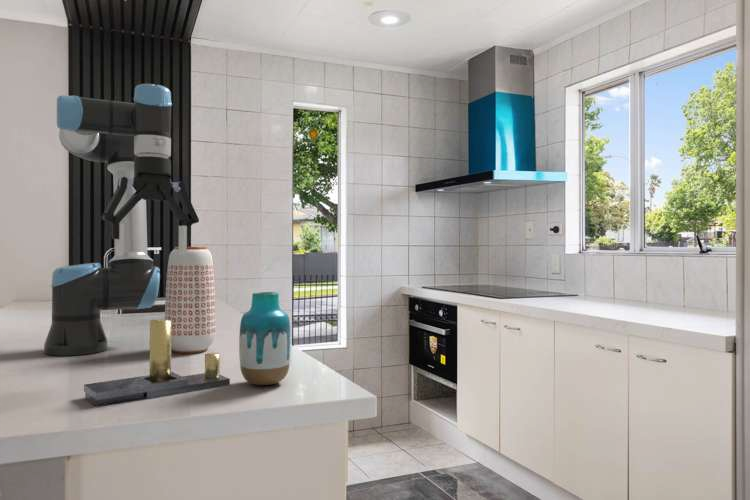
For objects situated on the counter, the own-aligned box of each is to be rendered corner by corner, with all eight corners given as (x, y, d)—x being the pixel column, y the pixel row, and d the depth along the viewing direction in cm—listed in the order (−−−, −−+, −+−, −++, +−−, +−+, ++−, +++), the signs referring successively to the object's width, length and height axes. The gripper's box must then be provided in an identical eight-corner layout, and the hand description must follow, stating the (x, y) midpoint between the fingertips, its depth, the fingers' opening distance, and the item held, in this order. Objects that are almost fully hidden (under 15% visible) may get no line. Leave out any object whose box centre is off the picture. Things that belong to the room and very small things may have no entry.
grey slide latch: (83, 397, 110) (83, 366, 110) (212, 377, 127) (212, 350, 127) (96, 407, 104) (96, 373, 104) (229, 384, 121) (229, 355, 121)
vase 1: (161, 356, 150) (161, 247, 149) (167, 346, 163) (167, 246, 162) (214, 354, 153) (215, 247, 152) (216, 345, 166) (217, 246, 165)
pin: (146, 390, 115) (146, 320, 115) (166, 387, 118) (166, 318, 118) (153, 394, 112) (154, 322, 112) (174, 391, 115) (174, 320, 115)
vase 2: (266, 393, 114) (267, 296, 114) (228, 385, 120) (228, 293, 120) (300, 382, 123) (301, 292, 123) (263, 375, 129) (264, 289, 129)
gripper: (96, 149, 115) (96, 255, 116) (214, 161, 132) (213, 254, 132) (86, 153, 121) (85, 254, 121) (199, 164, 137) (199, 254, 138)
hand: (152, 255), depth 127 cm, fingers open, 13 cm apart
